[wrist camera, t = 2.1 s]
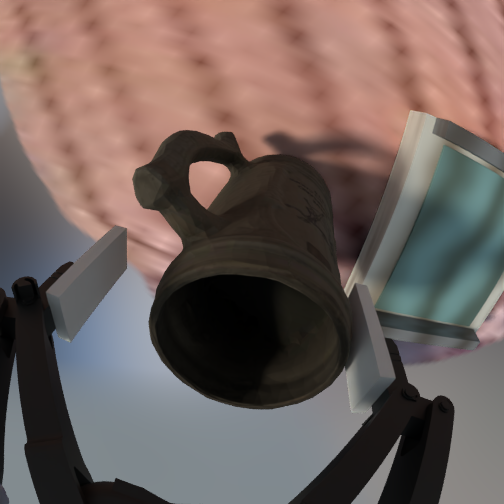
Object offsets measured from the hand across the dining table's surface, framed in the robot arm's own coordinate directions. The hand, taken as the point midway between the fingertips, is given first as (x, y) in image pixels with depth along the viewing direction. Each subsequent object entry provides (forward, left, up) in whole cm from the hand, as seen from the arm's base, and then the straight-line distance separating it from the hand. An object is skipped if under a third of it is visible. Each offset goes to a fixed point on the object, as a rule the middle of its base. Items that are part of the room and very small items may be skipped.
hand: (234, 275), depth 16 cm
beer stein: (0, 0, -15) cm, 15 cm away
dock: (-22, -1, -15) cm, 27 cm away
